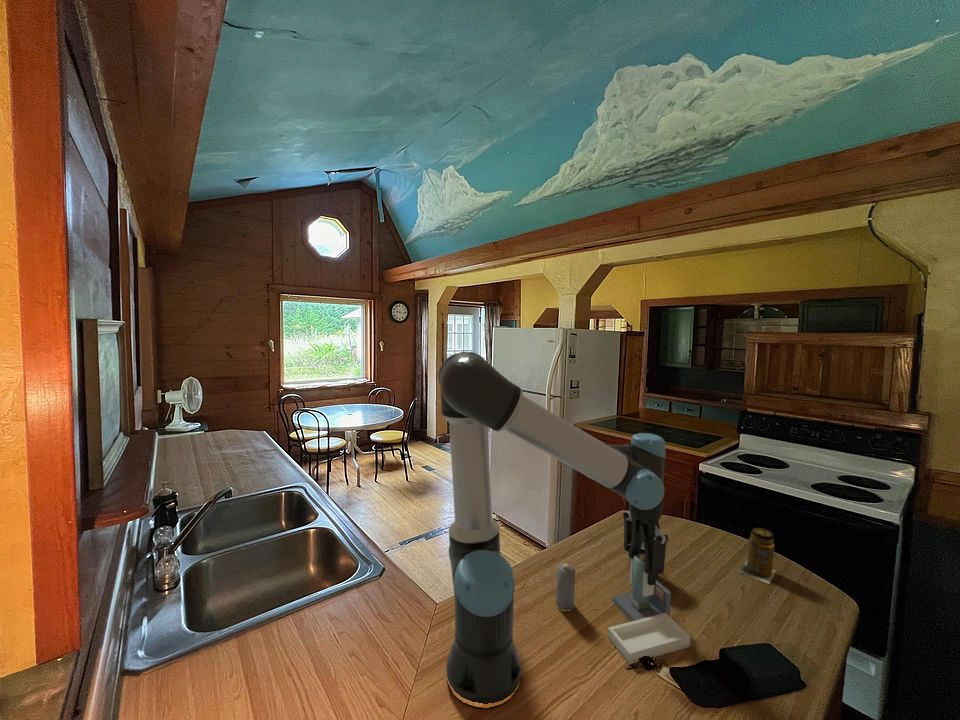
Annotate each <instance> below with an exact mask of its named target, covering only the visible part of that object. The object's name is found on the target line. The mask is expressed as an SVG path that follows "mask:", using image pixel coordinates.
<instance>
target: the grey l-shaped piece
mask: <svg viewBox="0 0 960 720" xmlns="http://www.w3.org/2000/svg"><path fill="white" fill-rule="evenodd" d="M630 594H632V591H631V592H626V593H621V594H617V595H613V596H612V598H611V601H612V602H613V604H615V606H616V607H617V606H618V607H617V608H618V609H619V610H620V611H621V612H622V613H623V614H624V615H625V616H626V617H627V619H628V620H630V621H629V622H632V621H636V620H639V619H643V618H647V617H651V616H655V615H659V614H663V613H666V614H667V615H668V616H669V617H670V614H671V602H672V601H671V600H672V592H671V591H670V590H669V589H668V588H666V586H664V585H663V584H662V583H660V582H659V581H658V579H657V580H656V584H655V585H654V595H651V607H649V608H645V609H641V610H638V609H637V608H636V607H635V606H634V605H633V604H632V603H631V602H630ZM670 618H671V617H670Z"/></svg>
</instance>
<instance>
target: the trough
mask: <svg viewBox="0 0 960 720" xmlns="http://www.w3.org/2000/svg"><path fill="white" fill-rule="evenodd" d="M608 638H609V639H608ZM607 639H608V640H609V642H610V641H611V642H612V643H613V644H612V643H611V642H610V643H611V644H612V645H613V647H614V648H615V647H616V648H615V650H617V652H618V653H619V654H620V655H621V656H622V658H623V659H624V661H626V663H627V662H628V663H632V662H635V661H637V660H638V659H639V658H641V657H643V656H654V657H653V658H655V657H660V656H662V655H666V654H669V653H673V652H676V651H680V650H683V649H686V648H690V647H691V635H690V634H689V633H688V632H686V630H685V629H684V628H682V627H681V625H679V624H678V623H677V622H676V621H675V620H674V619H673V618H672V617H669V616H668V615H667V614H666V613H663V614H659V615H655V616H651V617H647V618H643V619H639V620H636V621H632V622H631V621H628V622H624V623H621V624H617V625H613V626H609V627H607ZM628 663H627V664H628Z"/></svg>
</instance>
